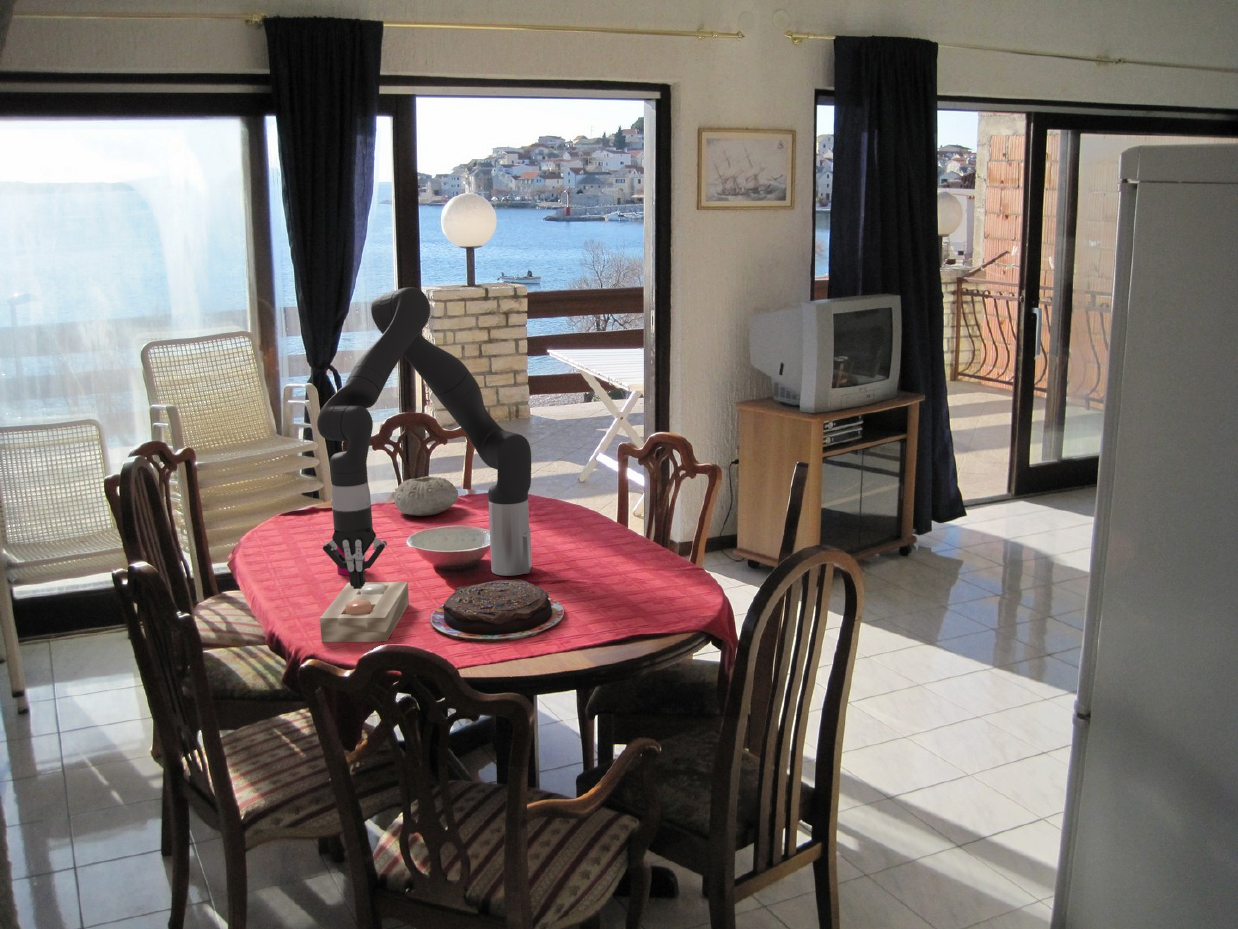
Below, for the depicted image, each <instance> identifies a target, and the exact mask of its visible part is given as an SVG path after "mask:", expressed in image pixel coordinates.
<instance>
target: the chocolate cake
mask: <svg viewBox="0 0 1238 929" xmlns="http://www.w3.org/2000/svg"><path fill="white" fill-rule="evenodd" d="M564 614H565V609H564V607H563V606H562V604H561V603H559V601H557V600H556V599H553V598H552V597H551V598H550V597H549V592H548V591H546V590H545V589H544V588H542V587H540V586H539V585H538V586H537V585H535V584H533V583H530V582H528V581H525V579H524V580H523V579H511V580H510V579H509V580H499V579H498V580H493V581H487V582H483V583H479V584H478V583H477V584H473V585H466V586H459V587H456V588H455V590H454V592H453V593H452V594H451V595H450V596H448V598H447V599H446V600H445V601H444V604H442V605H440V606H438V607H437V608H436V609H435V610H433V612H432V613H431V614H430V617H429V620H430V624H431V626H432V627H433V628H434V630H436V631H438V632H441V633H442V634H444V635H446V636H448V638H450V639H452V640H454V639H455V640H457V639H458V640H459V639H462V640H463V639H464V640H466V641H468V642H475V643H476V642H477V643H488V644H493V643H494V644H495V643H500V642H506V641H513V640H518V639H525V638H530V637H534V636H538V635H539V634H540V633H542V632H543V631H545V630H547V629H549V628H550V629H551V628H555V627H557V626H559V623H560V622H561V620H563V617H565V615H564Z"/></svg>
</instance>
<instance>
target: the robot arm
mask: <svg viewBox="0 0 1238 929" xmlns="http://www.w3.org/2000/svg"><path fill="white" fill-rule="evenodd" d="M370 313H371V318H372V320H373V323H374V324H375V326H376V328H377V329H378V330H379V332H380V333H381V334H382V335H381V336H379V338H378V339H377V340H376V341H375V342H374V343H373V344H372V345H371V346H370V347H369V348H368V349H367V350H366V351H365V352H364V353H363V354H362V355H361V357H360V358H359V359H358V360H357V362H356V363H355V365H354V366H353V368H352V370H351V372H350V374H349V376H348V377H347V380H346V381H345V383H344V385H342V387H341V388H339V389H338V390H337V391H336V393H334V395H331V398H329V399H328V400H327V401H326V402H325V404H324V405H322V407H321V409H320V411H319V413H318V417H317V420H316V424H317V427H316V428H317V430H318V433H319V435H320V436H321V437H322V438H324V440H325V439H326V440H328V441H334V442H335V441H336V442H348V447H347V450H346V451H345V450H344V451H339V452H336V453H334V454H333V455H332V456H331V457H330V459H329V469H330V481H331V493H330V494H331V496H330V497H331V498H330V499H331V502H330V503H331V504H330V505H331V508H332V522H333V529H334V531H333V534H332V537H331V538H332V539H331V540H329V541H327V542H326V543H325V544H324V545H323V547H322V551H324V553H325V554H326V555H327V556H328V557H329V558H330V560H332V561H333V563H335V564H336V566H338V567H339V568H340V569H347V570H348V571H349V583H350V585H351V586H353V588H354V589H361V588H362V587H363V586H364V584H365V582H367V580H366V569H370V568H371V567H372V566H373V565H374V563H375V562H376V560H377V559H378V558H379V556H380V555H381V554H382V552H383V550H384V549H385V548H386V547H387V545H388V544H387V541H386V540H380V539H379V538H377V534H376V532H375V531H374V527H373V525H374V524H373V514H372V513H373V512H372V501H371V490H370V487H369V479H368V467H367V460H368V454H369V448H370V444H371V443H370V442H371V438H372V433H373V429H374V428H373V427H374V422H373V417H372V415H371V413H370V411H369V410H368V409H369V408H372V407H373V406H374V405H376V403H377V401H378V399H379V398H380V395H381V393H382V391H383V389H384V388H385V385H386V383H387V382H388V380H389V377H390V376H391V374H392V372H393V371H394V369H395V367H396V366H397V364H398V363H399V361H400V360H401V359H402V357H404V358H405V359H406V361H407V362H408V363H409V364H410V365H411V366H412V368H413V369H414V370H415V371H416V372H417V374H418V375H419V376H420V377H421V379H422V380H423V381H424V382H425V384H426V385H427V386H428V388H429V389H430V390H431V392H432V393H433V394H434V396H435V397H436V398H437V400H438V401H439V403H440V404H441V405H442V406H443V407H444V408H445V410H446V411H447V412H448V413H449V414H450V416H451V417H452V418H453V419H454V421H455V422H456V423H457V424H458V425H459V427H460V428H461V429H462V430H463V432H464V433H465V434H466V435H467V437H468V439H469V441H470V442H471V444H472V446H473V448H474V449H475V451H476V453H477V454H478V455H479V458H481V460H482V461H483V463H484V464H485V465H487V466H488V467H489V468H492V469H494V470H497V479H496V484H493V485H491V486H490V487H489V488H488V490H487V491H488V492H487V499H488V524H489V545H490V566H491V571H490V572H492V573H493V574H495V575H496V576H497V575H498V576H506V577H507V576H510V577H511V576H519V575H523V574H526V575H527V574H530V572H531V569H532V565H533V564H532V563H533V562H532V538H531V537H532V536H531V533H532V532H531V527H530V519H529V518H530V517H529V516H530V515H529V492H530V488H531V484H532V451H531V450H532V449H531V445H530V442H529V440H528V438H526V436H523V435H522V434H521V433H520V434H519V433H516V432H512V431H508V430H505V429H503V427H502V426H500V424H498V423H497V422H496V421H495V419H494V418H493V417H492V416H491V415H490V414H489V412H488V410H487V409H486V408H487V407H485V403H484V398H483V394H482V391H481V387H480V386H479V383H478V381H477V380H476V378H475V377H474V376H473V374H472V372H470V370H469V369H468V367H467V366H466V365H465V364H464V363H463V362H462V361H461V360H460V359H459V358H458V357H456V356H455V355H453V354H452V353H450V352H448V351H447V350H444V349H443V348H441V347H440V346H438V345H435V344H434V343H432V342H430V341H429V340H428V339H426V337H424V336H423V335H422V334H421V332H422V331H423V329H425V326H426V325H427V323H428V321H429V319H430V315H431V304H430V301H429V299H428V296H427V295H426V294H425V293H424V292H423V291H422V290H421V289H420V288H417V287H413V286H412V287H411V286H409V287H402V288H399V289H396V290H392V291H389V292H386V293H384V294H383V293H382V294H381V295H377V296H376V297H375V298H374V299H373V301H372V303H371V307H370ZM372 544H373V546H372ZM336 545H337V546H338V547H339V548H340V549H341V551H342V552H343V553H345V558H344V557H343V556H342V554H341V553H340V552H339V551H338V550H337V546H336ZM371 546H372V549H373V553H372V554H371V555H370V557H369V558H368V560H366V555H367V554H366V553H367V552H368V550H369V549H370V548H371Z"/></svg>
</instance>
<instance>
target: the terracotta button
mask: <svg viewBox="0 0 1238 929" xmlns="http://www.w3.org/2000/svg"><path fill="white" fill-rule="evenodd" d="M370 613H371V602H370V601H367V600H355V601H351V602H348V603H347V604H346V614H370Z"/></svg>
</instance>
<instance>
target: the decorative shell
mask: <svg viewBox="0 0 1238 929" xmlns="http://www.w3.org/2000/svg"><path fill="white" fill-rule="evenodd" d="M394 491H395V492H394V495H393V501H394V504H395V506H396V508H397V510H399V511H400V512H401V513H402V514H404V515H409V516H418V517H423V516H426V517H427V516H434V515H437V514H439V513H442V512H445V511H446V510H448V509H449V508H451V507H452V506H454V505H455V504H456V502H457V501H458V500H459V499H458V498H459V490H458V489H457V488H456V486H455V485H454V484H453V483H452V482H451V481H449V480H448V479H446V478H444V477H437V476H430V475H427V476H421V477H418V478H410V479H406V480H404V481H401V483H400V484H399V485H398V487H396V488H394Z"/></svg>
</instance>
